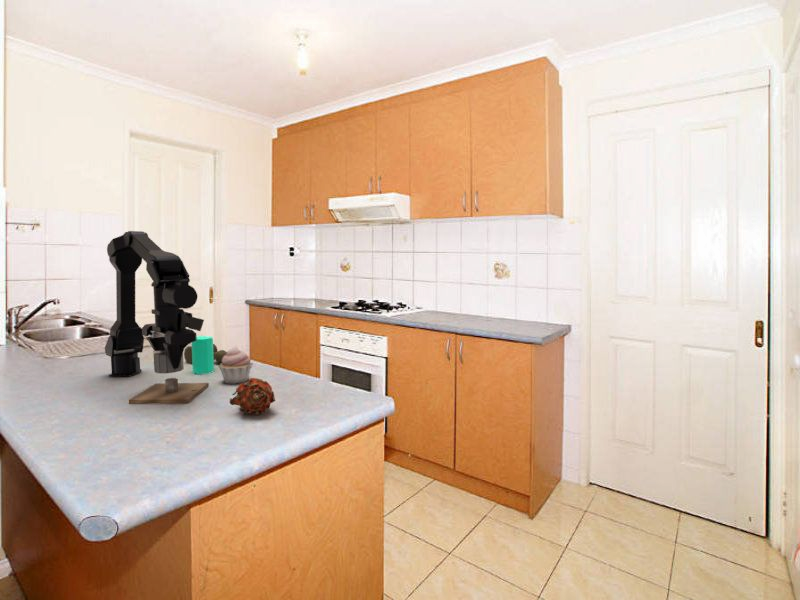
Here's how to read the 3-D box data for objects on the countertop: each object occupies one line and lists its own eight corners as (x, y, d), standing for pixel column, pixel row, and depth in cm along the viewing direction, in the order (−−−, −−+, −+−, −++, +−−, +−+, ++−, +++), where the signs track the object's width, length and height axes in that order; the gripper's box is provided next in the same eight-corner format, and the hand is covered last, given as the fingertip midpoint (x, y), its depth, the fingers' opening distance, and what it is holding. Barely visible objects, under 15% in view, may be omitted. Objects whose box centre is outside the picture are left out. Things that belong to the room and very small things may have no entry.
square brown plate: (128, 403, 111) (128, 387, 110) (155, 387, 125) (155, 372, 124) (188, 403, 112) (188, 386, 111) (208, 386, 125) (208, 371, 125)
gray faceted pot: (177, 373, 114) (176, 353, 114) (148, 373, 114) (147, 354, 113) (187, 366, 121) (186, 348, 120) (160, 367, 120) (159, 348, 120)
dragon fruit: (266, 427, 101) (239, 421, 109) (291, 397, 106) (263, 393, 114) (242, 401, 97) (216, 397, 105) (268, 371, 102) (241, 369, 110)
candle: (206, 374, 137) (204, 335, 136) (188, 373, 139) (186, 334, 137) (218, 369, 143) (216, 331, 142) (200, 368, 144) (199, 330, 143)
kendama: (219, 370, 145) (175, 362, 153) (242, 364, 153) (199, 356, 162) (220, 351, 144) (175, 344, 153) (242, 347, 153) (199, 340, 161)
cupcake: (260, 380, 131) (259, 346, 130) (230, 387, 124) (229, 351, 123) (242, 374, 137) (241, 341, 136) (212, 381, 130) (211, 346, 129)
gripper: (216, 305, 116) (218, 366, 117) (183, 300, 128) (185, 355, 129) (170, 309, 107) (173, 375, 109) (139, 303, 120) (142, 362, 121)
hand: (169, 366), depth 117 cm, fingers closed on gray faceted pot, 7 cm apart
